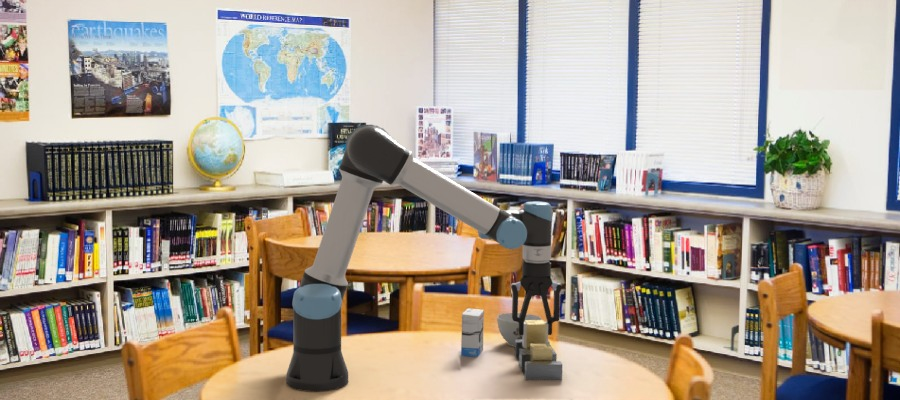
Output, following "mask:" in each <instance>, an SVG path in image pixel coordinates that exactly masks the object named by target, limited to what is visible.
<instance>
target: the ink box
mask: <svg viewBox="0 0 900 400" xmlns="http://www.w3.org/2000/svg"><path fill="white" fill-rule="evenodd" d="M461 314H462V315H461V341H460V342H461V348H460V349H461V350H460V356H462V357H474V358H476V357H477V358H478V357H479V356H480V355H481V353H483V351H484V323H485V322H484V321H485V320H484V319H485V315H484V314H485V309H478V308H466V309H465V311H463V312H462V313H461Z"/></svg>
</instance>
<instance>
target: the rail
mask: <svg viewBox="0 0 900 400" xmlns="http://www.w3.org/2000/svg"><path fill="white" fill-rule="evenodd" d="M548 344H550V345H551V343H550V340H549V339H548ZM552 349H553V353H552V361H530V349H526V348H523V346H522V340H515V346H514V355H515V358H516V360H517V363H518V365H519V367H520V369H521V372H522V375H523V376H524V379H525V381H563V363H562V361H560V360H559V361H558V360H557V359H558V357H557V352H556V350H555V349H554V348H552Z"/></svg>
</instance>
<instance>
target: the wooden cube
mask: <svg viewBox="0 0 900 400" xmlns="http://www.w3.org/2000/svg"><path fill="white" fill-rule="evenodd" d="M553 349H554V348H553V347H552V345H551V343H550V344H530V361H552V353H553Z"/></svg>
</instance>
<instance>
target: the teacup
mask: <svg viewBox="0 0 900 400" xmlns="http://www.w3.org/2000/svg"><path fill="white" fill-rule="evenodd" d="M519 316H520V312H518V317H519ZM496 319H497V325H498V331H499V333H500V335H501V336H502V338H503V340H505V342H506V343H507V345H508V346H511V347H515V340H522V335H520V334H519V323H518V322H516V321H513V319H512V312H508V313H500V314H498V315H497V316H496ZM525 320H542V317H540V316H539V315H536V314H530V313H526V317H525ZM525 320H524V322H525Z"/></svg>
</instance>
